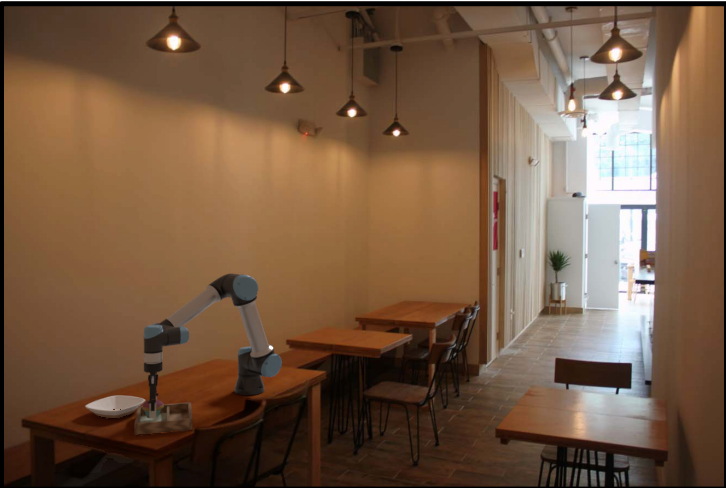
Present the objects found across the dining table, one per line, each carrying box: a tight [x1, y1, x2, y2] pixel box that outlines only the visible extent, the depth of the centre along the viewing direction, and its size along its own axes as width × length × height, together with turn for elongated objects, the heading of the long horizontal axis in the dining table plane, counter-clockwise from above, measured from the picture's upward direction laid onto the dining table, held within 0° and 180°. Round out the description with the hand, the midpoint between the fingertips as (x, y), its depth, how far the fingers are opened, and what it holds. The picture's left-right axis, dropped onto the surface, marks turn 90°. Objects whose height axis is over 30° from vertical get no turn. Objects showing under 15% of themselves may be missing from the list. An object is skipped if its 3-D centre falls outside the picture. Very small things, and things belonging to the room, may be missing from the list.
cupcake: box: [141, 387, 165, 418], centre depth 248 cm, size 9×8×12 cm
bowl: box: [84, 395, 146, 419], centre depth 262 cm, size 22×22×5 cm
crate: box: [133, 402, 193, 435], centre depth 249 cm, size 22×24×5 cm
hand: (153, 414), depth 248 cm, fingers closed on cupcake, 8 cm apart
